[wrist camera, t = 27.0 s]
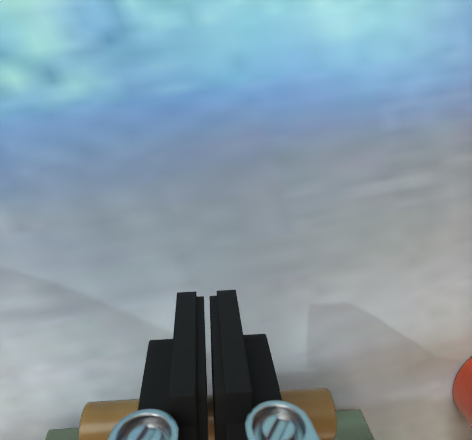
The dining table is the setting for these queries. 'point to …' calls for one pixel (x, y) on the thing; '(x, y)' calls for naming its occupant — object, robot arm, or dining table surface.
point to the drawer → (309, 400)
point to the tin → (464, 391)
